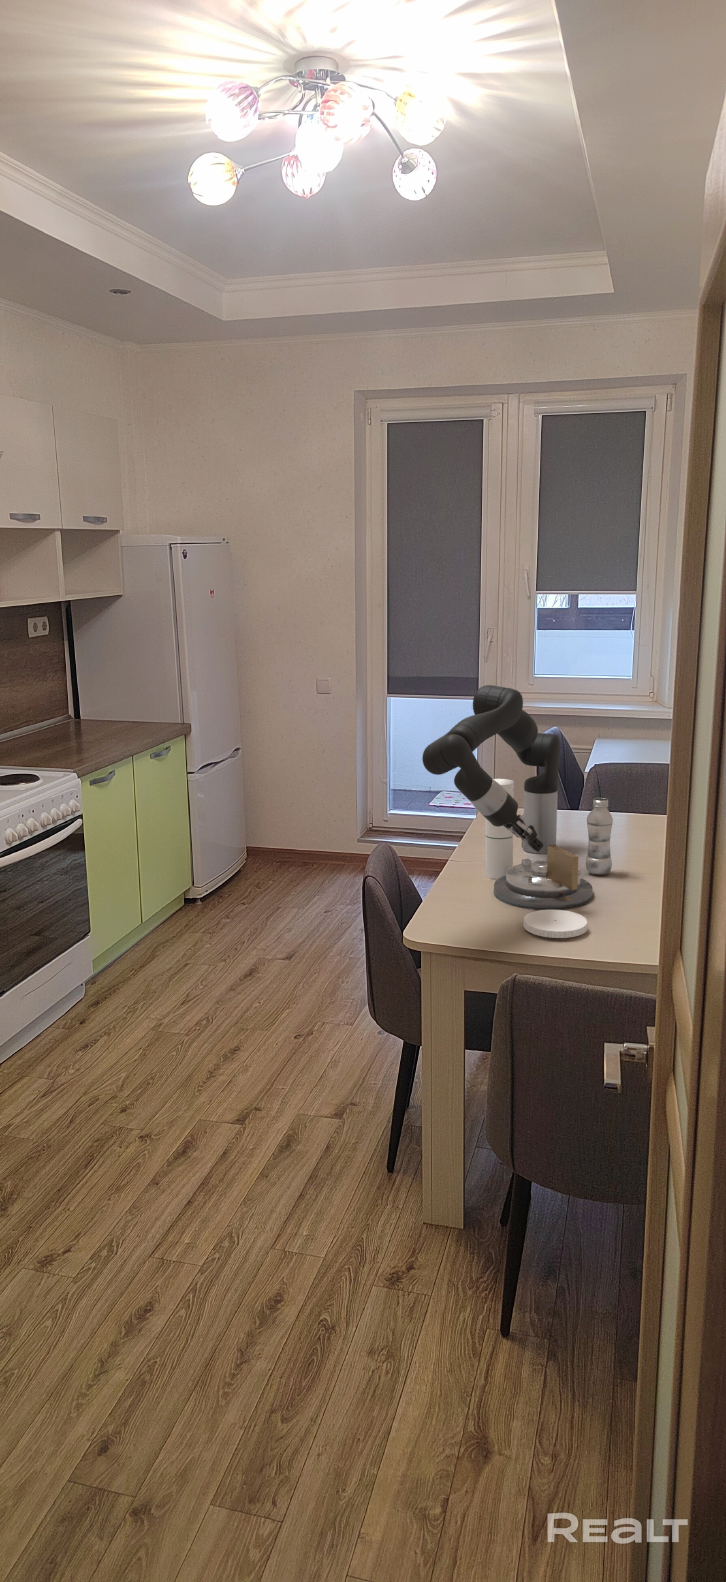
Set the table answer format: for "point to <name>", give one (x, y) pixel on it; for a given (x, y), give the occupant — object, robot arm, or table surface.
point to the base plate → (543, 902)
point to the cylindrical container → (498, 842)
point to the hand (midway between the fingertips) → (539, 848)
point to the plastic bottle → (599, 838)
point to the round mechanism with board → (546, 875)
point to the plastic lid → (555, 923)
